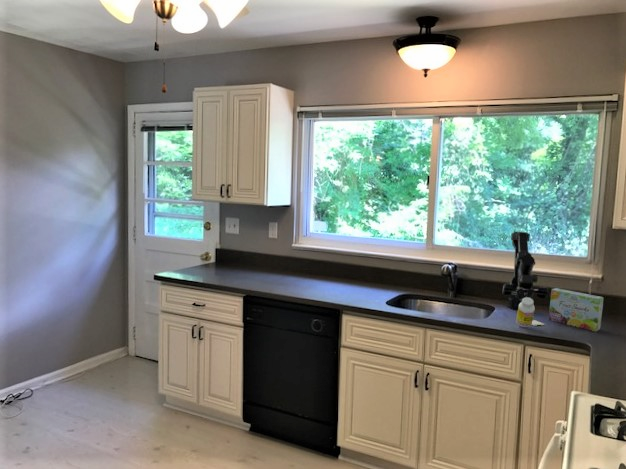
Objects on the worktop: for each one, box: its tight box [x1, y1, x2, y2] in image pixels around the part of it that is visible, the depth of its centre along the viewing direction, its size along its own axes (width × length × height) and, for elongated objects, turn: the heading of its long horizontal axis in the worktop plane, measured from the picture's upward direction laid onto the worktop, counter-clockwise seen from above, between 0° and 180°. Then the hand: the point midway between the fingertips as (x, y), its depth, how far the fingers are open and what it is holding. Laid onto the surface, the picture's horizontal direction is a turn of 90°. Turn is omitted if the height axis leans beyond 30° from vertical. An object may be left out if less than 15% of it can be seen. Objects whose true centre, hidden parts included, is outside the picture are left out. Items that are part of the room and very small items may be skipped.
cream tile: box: [531, 319, 546, 327], centre depth 245 cm, size 6×6×1 cm
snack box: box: [548, 287, 604, 333], centre depth 245 cm, size 21×6×15 cm, turn 45°
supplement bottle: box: [515, 297, 536, 328], centre depth 237 cm, size 7×7×13 cm
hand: (525, 306), depth 240 cm, fingers closed
